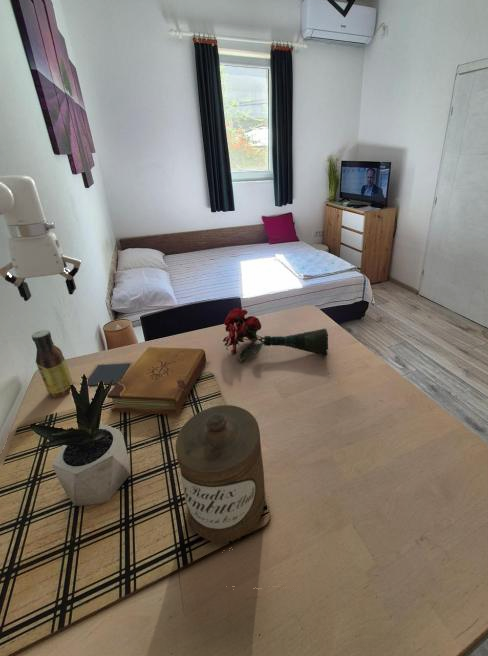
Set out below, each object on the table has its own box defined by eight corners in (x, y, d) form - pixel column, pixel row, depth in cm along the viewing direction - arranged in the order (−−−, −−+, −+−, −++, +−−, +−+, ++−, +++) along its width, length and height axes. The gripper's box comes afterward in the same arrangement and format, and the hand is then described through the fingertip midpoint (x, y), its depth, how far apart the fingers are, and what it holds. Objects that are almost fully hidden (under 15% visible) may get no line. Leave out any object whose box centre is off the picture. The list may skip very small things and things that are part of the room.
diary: (179, 415, 85) (176, 398, 83) (111, 412, 87) (106, 395, 84) (206, 363, 106) (204, 348, 104) (151, 361, 108) (148, 346, 106)
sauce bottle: (51, 387, 96) (29, 329, 88) (75, 381, 99) (56, 324, 91) (46, 401, 91) (23, 341, 83) (72, 395, 93) (52, 335, 85)
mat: (83, 386, 97) (83, 385, 96) (98, 365, 106) (98, 365, 106) (118, 384, 97) (117, 383, 97) (130, 364, 106) (130, 363, 106)
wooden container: (177, 541, 58) (156, 452, 49) (202, 466, 71) (189, 386, 63) (259, 546, 57) (253, 456, 48) (269, 469, 70) (265, 389, 62)
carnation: (323, 369, 115) (223, 366, 114) (321, 320, 123) (228, 317, 122) (330, 358, 101) (217, 355, 100) (327, 303, 109) (223, 300, 108)
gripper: (74, 224, 83) (90, 285, 90) (-10, 230, 77) (14, 295, 84) (68, 229, 77) (86, 295, 84) (-24, 237, 71) (4, 307, 78)
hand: (50, 295), depth 84 cm, fingers open, 9 cm apart
